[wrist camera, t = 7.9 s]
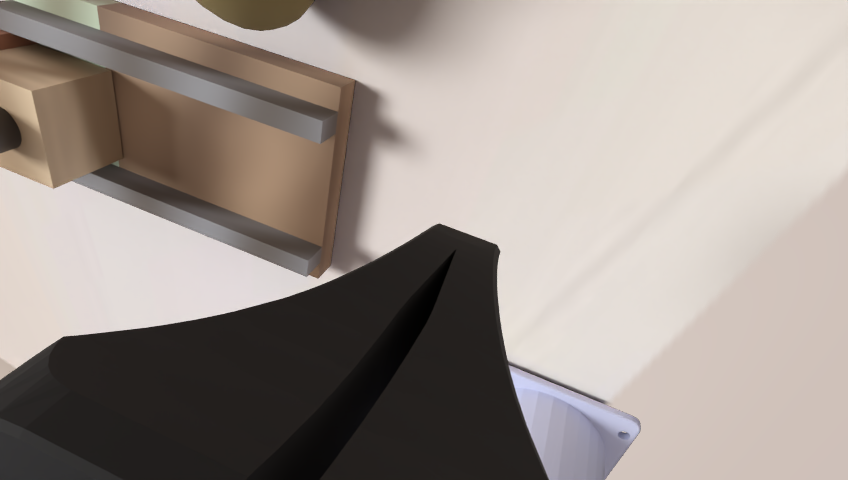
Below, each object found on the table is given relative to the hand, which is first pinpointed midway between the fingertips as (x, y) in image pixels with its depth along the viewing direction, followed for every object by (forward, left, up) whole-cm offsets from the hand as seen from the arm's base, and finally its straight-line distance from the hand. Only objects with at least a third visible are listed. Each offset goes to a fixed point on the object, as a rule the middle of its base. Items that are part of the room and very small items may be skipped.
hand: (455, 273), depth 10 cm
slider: (-5, +20, -9) cm, 22 cm away
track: (-5, +15, -10) cm, 19 cm away
